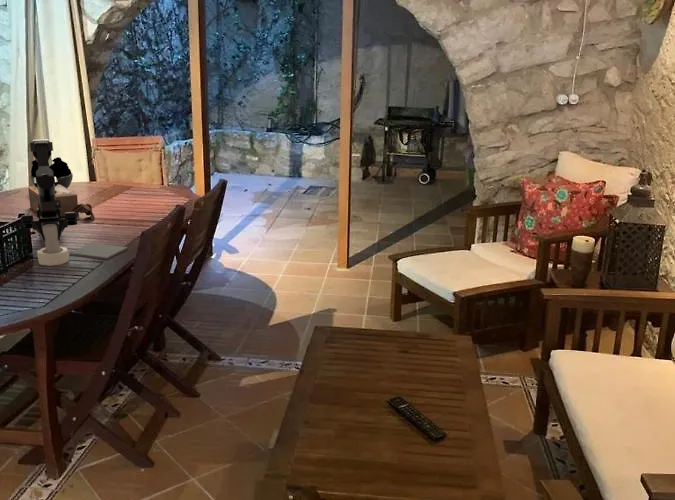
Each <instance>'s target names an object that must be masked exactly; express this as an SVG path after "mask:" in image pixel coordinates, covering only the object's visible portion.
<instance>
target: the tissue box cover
mask: <svg viewBox="0 0 675 500" xmlns="http://www.w3.org/2000/svg"><path fill="white" fill-rule="evenodd" d="M27 189H28V197H29V205H30V206H29V207H31V208H30V209H32V210H33V211H34V212H35V211H36V212H35V213H37V208H38V203H39V193H38V189H37V187H35V186H31V187H30V186H29V187H28V188H27ZM55 198H56V200H60V202H61V209H60V210H61V216H65V212H70V211H72V212H73V210H72V209H73V208H74V207H76V206H77V205H79V201H78V200H79V199H78V194H76V193H75V192H73V191H72V190H70V189H68V188H65V187H63V186H62V185H60V184H59V185H57V186H55Z"/></svg>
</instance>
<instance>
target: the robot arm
mask: <svg viewBox="0 0 675 500" xmlns="http://www.w3.org/2000/svg"><path fill="white" fill-rule="evenodd" d="M53 144H54V143H53V141H49V138H48V139H32V142H29V149H30V152H32V157H34V160H35V159H36V160H37V162H38V170H37V171H36V178H34V182H35V186H34V187H37V189H38V193H39V203H38V208H37V212H36V215H37V216H34V215H33V214H22V215H21V216H20V219H21V226H22V227H23V228H24V230H28V229H32V230H33V231H36V233H37V234H38V236H39V237H40V238H41V240H42V242H43V243H45V239H44V234H43V226H44V225H47V224H56V226H57V231H58V238H59V241H60V240H61V238H62V235H63V232H64V230H65V229H66V228H68V227H69V226H76V225H77V224H78V216H77V215H76V213H75V212H65V216H61V210H60V209H61V202H60V200H56V198H55V186H57V185H58V179H57V178H56V177H54V173H53V171H52V170H51V169H50V168H49V166H50V162H49V161H50V158H51V157H52V152H54V147H53ZM25 224H26V226H25ZM24 226H25V227H24ZM22 227H21V228H22ZM23 228H22V229H23Z"/></svg>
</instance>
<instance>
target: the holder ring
mask: <svg viewBox="0 0 675 500" xmlns="http://www.w3.org/2000/svg"><path fill="white" fill-rule="evenodd" d="M60 249H61V252H59V253H52V254H48V253H47V251H46V246H45V247H43V248H40V249H38V250H36V254H37V260H38V261H37V262H38V263H39V265H41V266H49V267H50V266H57V265H63V264H65V263H67V262H69V261H70V257H69V256H70V254H69V250H68V248H67V247H66V246H60Z"/></svg>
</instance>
